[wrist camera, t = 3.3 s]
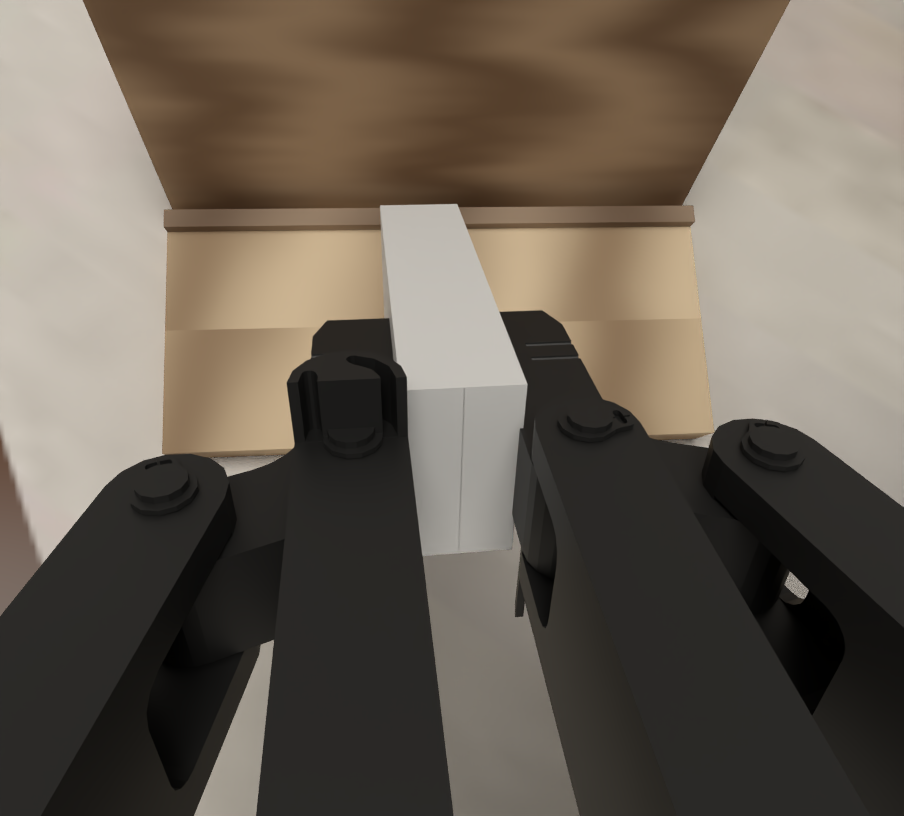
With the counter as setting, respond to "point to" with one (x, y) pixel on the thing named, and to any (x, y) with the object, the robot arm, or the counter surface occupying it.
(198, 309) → the laid floorboards
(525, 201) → the board
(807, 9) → the counter surface
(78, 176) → the counter surface
